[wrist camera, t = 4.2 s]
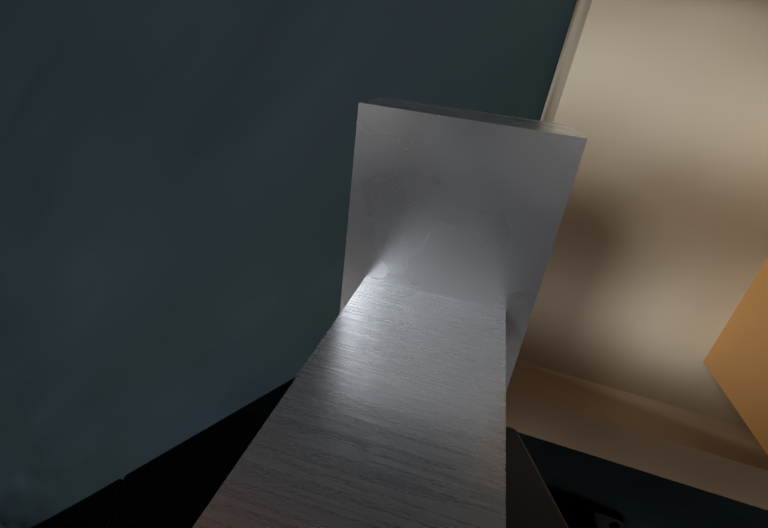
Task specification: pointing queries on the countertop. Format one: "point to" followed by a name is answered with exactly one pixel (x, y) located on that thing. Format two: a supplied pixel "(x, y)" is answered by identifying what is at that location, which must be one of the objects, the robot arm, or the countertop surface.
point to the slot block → (653, 241)
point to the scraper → (415, 330)
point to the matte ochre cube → (746, 358)
